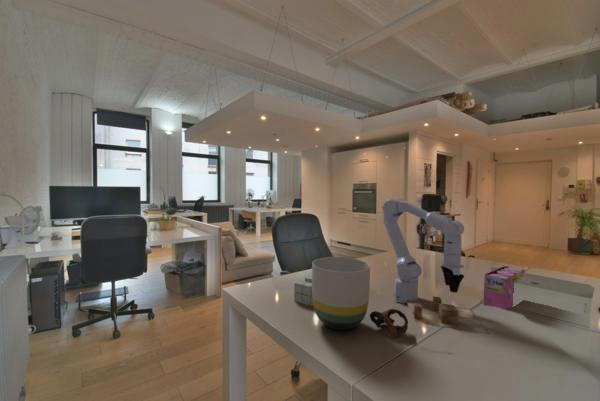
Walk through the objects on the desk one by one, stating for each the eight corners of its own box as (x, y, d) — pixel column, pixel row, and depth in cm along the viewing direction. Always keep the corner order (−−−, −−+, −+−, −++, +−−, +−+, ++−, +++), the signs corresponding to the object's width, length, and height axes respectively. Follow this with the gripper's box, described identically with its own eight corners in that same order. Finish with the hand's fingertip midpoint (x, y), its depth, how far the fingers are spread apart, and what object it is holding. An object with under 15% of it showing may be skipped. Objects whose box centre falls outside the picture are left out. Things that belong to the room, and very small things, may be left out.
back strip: (435, 315, 101) (435, 301, 101) (431, 307, 108) (432, 294, 108) (476, 321, 97) (477, 306, 97) (470, 312, 104) (470, 298, 104)
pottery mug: (400, 325, 96) (409, 310, 91) (402, 350, 88) (412, 335, 83) (366, 314, 97) (374, 298, 93) (365, 337, 89) (373, 322, 85)
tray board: (431, 329, 91) (431, 325, 91) (422, 306, 110) (422, 302, 110) (489, 338, 87) (490, 333, 87) (470, 312, 105) (470, 308, 105)
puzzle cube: (318, 308, 107) (319, 288, 107) (293, 301, 114) (294, 282, 113) (332, 299, 117) (333, 280, 117) (309, 292, 124) (309, 275, 123)
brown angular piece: (415, 324, 94) (415, 308, 94) (412, 314, 102) (413, 300, 101) (458, 330, 90) (459, 314, 90) (453, 320, 98) (453, 305, 97)
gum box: (504, 294, 125) (505, 265, 125) (525, 300, 119) (527, 269, 119) (482, 306, 112) (483, 273, 111) (505, 313, 105) (507, 279, 105)
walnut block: (441, 323, 93) (441, 309, 93) (438, 317, 98) (438, 303, 98) (457, 325, 92) (458, 311, 91) (454, 319, 96) (454, 305, 96)
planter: (331, 346, 81) (333, 275, 80) (301, 318, 98) (302, 259, 97) (381, 332, 90) (382, 267, 89) (345, 308, 107) (346, 254, 106)
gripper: (470, 258, 95) (468, 296, 95) (458, 249, 109) (457, 283, 109) (447, 256, 97) (446, 294, 97) (439, 248, 111) (438, 281, 111)
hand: (451, 288), depth 103 cm, fingers open, 7 cm apart
